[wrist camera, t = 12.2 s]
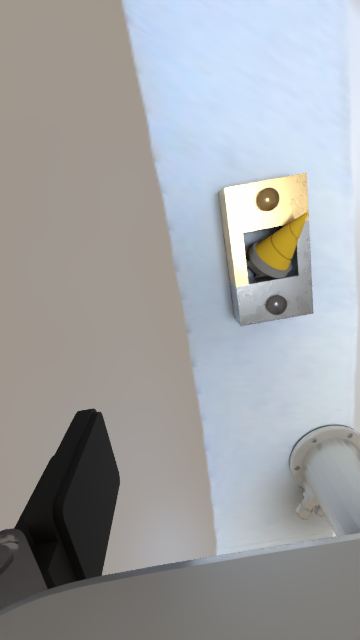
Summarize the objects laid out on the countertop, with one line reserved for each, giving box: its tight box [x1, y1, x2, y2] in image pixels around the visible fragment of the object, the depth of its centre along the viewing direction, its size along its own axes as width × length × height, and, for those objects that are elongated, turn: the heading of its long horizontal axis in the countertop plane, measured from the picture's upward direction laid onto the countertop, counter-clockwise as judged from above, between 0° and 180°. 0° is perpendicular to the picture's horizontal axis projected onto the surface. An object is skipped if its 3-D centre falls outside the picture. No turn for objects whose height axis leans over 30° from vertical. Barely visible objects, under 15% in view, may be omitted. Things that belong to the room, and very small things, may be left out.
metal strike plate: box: [219, 173, 313, 326], centre depth 36 cm, size 16×9×5 cm, turn 10°
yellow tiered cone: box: [246, 211, 308, 278], centre depth 35 cm, size 5×5×10 cm
